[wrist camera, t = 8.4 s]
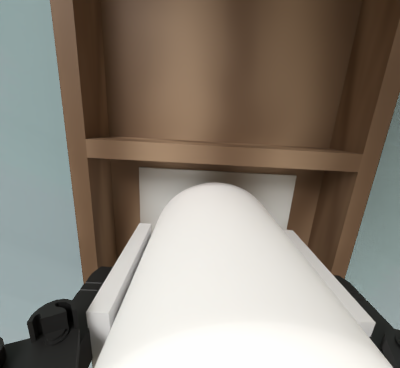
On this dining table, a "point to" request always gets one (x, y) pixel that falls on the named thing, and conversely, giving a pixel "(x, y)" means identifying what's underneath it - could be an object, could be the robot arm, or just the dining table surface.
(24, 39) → the dining table surface
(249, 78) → the tray
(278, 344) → the beverage can
